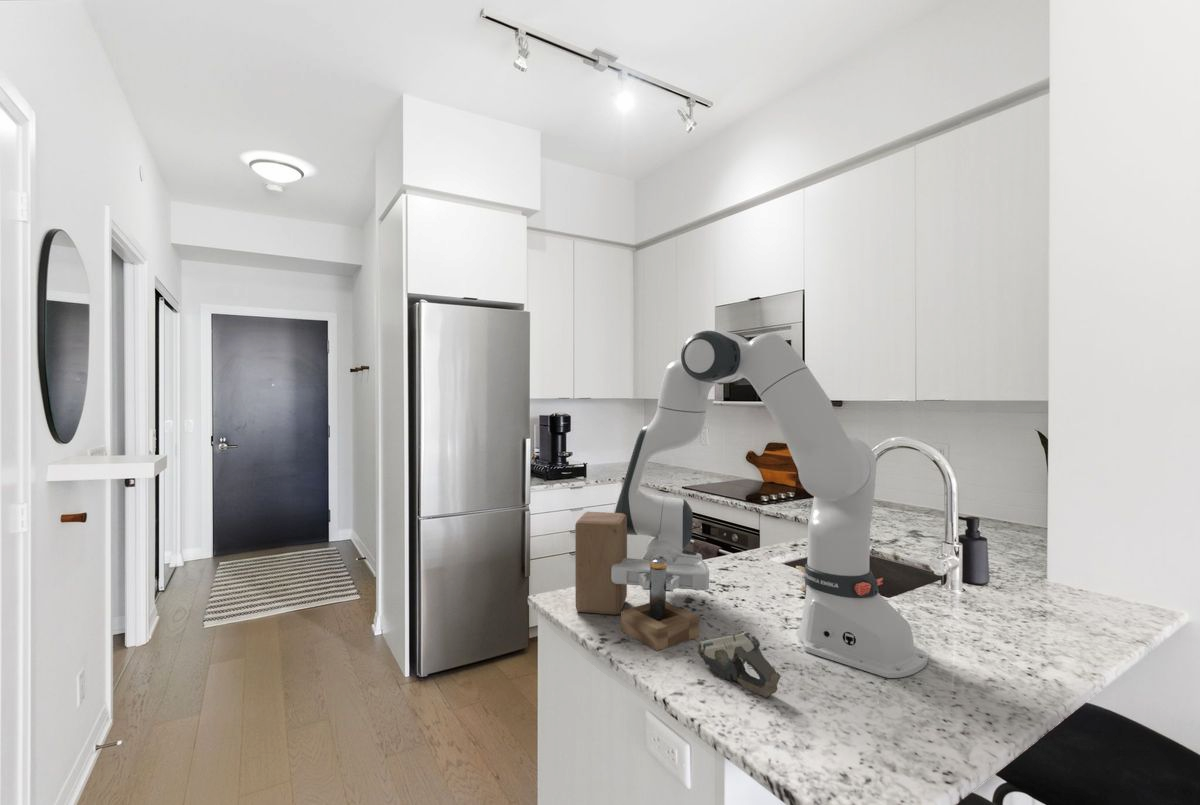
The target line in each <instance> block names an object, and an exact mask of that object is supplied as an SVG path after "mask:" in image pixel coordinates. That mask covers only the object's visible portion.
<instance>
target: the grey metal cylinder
mask: <svg viewBox="0 0 1200 805" xmlns="http://www.w3.org/2000/svg"><path fill="white" fill-rule="evenodd" d="M666 568H667V561H666V560H665V559H663V558H652V559H651V560H650V590H649V602H648V603H649V616H650V617H652V618H657V619H660V618H664V617H665V614H666V602H667V600H666V599H667V596H666V595H667V591H666Z"/></svg>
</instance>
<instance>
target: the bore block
mask: <svg viewBox="0 0 1200 805" xmlns="http://www.w3.org/2000/svg"><path fill="white" fill-rule="evenodd" d="M649 603H650V602H648V603H645V604H641V605H638V606H634V607H631V608H630V607H629V608H626V609H624V610H623V609H622V610H621V612H620V617H621V619H620V624H621V625H620V631H621V632H623V633H624V632H625V634H626V633H627V635H628V634H629V635H628V636H630V635H631V636H630V637H632V636H633V637H634V639H635V638H636V639H635V640H637V639H638V640H637V641H639V642H641V643H642V642H643V644H644V643H645V644H644V645H646V644H647V645H646V646H647V647H650V648H651V647H652V649H653V650H655V649H656V650H655V651H657V650H658V651H661V650H663V649H666V648H668V647H672V646H675V645H678V644H680V643H683V642H686V640H687V641H690V640H692V639H695V638H697V637H699V634H700V629H699V628H700V627H699V625H700V616H699V615H697V614H695V613H693V612H692V611H688V610H687V609H685V608H684V609H683V608H682V607H680V606H677V605H675V604H673V603H671V602H668V601H666V614H665V617H664V618H660V619H657V618H652V617H650V616H649ZM633 637H632V638H633ZM677 643H678V644H677ZM674 644H675V645H674ZM671 645H672V646H671ZM665 647H666V648H665ZM660 649H661V650H660Z"/></svg>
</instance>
